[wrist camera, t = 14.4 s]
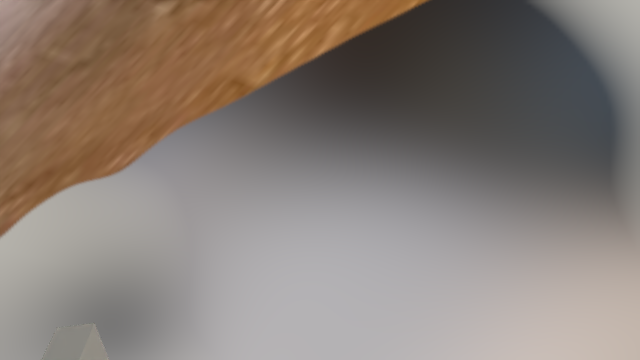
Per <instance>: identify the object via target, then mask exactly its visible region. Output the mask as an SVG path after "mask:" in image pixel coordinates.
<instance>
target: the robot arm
mask: <svg viewBox="0 0 640 360" xmlns="http://www.w3.org/2000/svg"><path fill="white" fill-rule="evenodd" d="M42 360H109V358H108V356H107V354H106V351H105V348H104V346H103V343H102V341H101V338H100V336H99V333H98V331H97V328H96V326H95V323H89V324H82V325H75V326H67V327H59V328H57V329H56V331H55V333H54V335H53V337H52V339H51V341H50V343H49V345H48V347H47V349H46V351H45V353H44V355H43V358H42Z"/></svg>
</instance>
